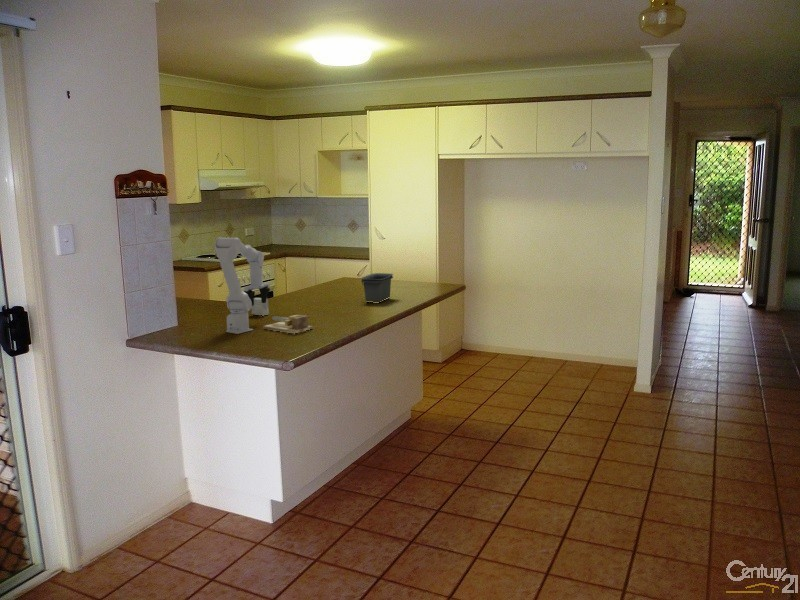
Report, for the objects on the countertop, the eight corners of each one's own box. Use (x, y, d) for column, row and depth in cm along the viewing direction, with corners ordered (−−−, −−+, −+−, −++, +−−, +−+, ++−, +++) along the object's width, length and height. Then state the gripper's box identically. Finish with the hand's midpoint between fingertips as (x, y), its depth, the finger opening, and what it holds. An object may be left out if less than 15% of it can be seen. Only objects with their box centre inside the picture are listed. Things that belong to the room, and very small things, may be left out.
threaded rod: (296, 324, 303) (296, 320, 303) (272, 320, 312) (272, 316, 312) (299, 323, 305) (299, 319, 305) (275, 319, 314) (275, 315, 314)
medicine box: (269, 315, 342) (268, 298, 341) (263, 317, 338) (262, 300, 337) (257, 314, 346) (256, 297, 344) (251, 315, 342) (250, 298, 341)
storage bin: (382, 304, 366) (381, 278, 364) (355, 303, 371) (355, 277, 369) (395, 298, 386) (395, 273, 383) (370, 297, 391) (370, 272, 389)
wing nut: (288, 329, 300) (288, 318, 299) (284, 328, 302) (283, 317, 301) (306, 324, 309) (305, 314, 308) (301, 324, 311) (300, 313, 310)
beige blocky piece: (294, 334, 298) (293, 319, 297) (263, 329, 310) (262, 315, 308) (313, 329, 307) (312, 315, 306) (282, 324, 319) (281, 310, 318)
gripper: (250, 278, 311) (251, 307, 313) (273, 274, 322) (274, 302, 324) (240, 277, 315) (241, 305, 317) (263, 273, 326) (264, 301, 329)
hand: (257, 304), depth 321 cm, fingers open, 7 cm apart
